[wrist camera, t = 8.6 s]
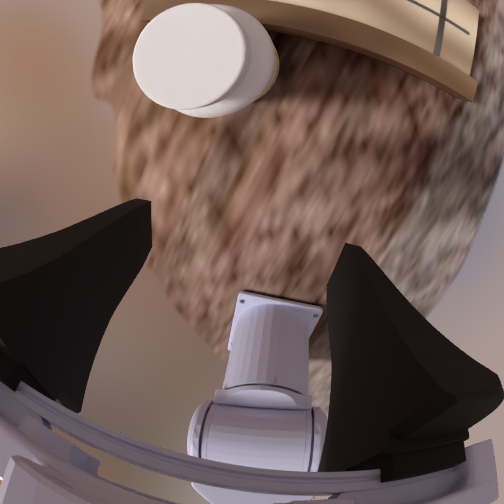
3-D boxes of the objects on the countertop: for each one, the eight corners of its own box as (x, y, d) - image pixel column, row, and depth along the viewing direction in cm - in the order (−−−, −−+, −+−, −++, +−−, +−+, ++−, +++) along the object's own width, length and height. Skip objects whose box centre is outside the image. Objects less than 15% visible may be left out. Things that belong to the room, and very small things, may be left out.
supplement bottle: (185, 48, 14) (96, 35, 6) (262, 17, 13) (233, -38, 5) (214, 115, 17) (148, 153, 9) (291, 89, 16) (294, 98, 8)
